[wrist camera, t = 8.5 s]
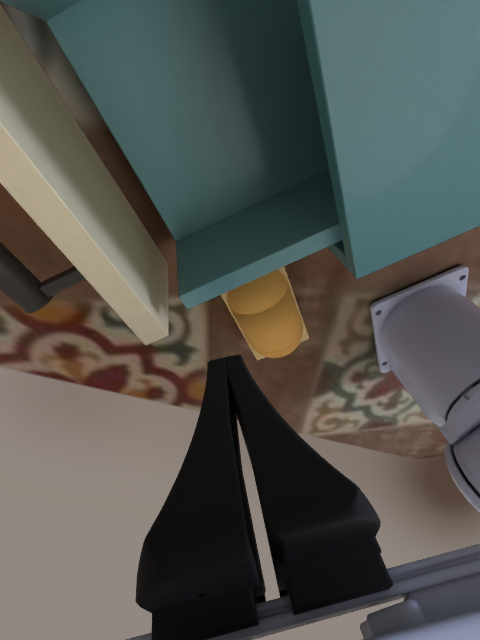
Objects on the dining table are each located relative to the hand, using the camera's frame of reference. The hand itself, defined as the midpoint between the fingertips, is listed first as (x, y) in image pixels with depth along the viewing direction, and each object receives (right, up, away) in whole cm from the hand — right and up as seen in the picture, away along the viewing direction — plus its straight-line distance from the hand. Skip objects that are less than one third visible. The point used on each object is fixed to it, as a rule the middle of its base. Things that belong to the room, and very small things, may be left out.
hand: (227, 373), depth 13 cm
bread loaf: (+2, +4, +10) cm, 11 cm away
